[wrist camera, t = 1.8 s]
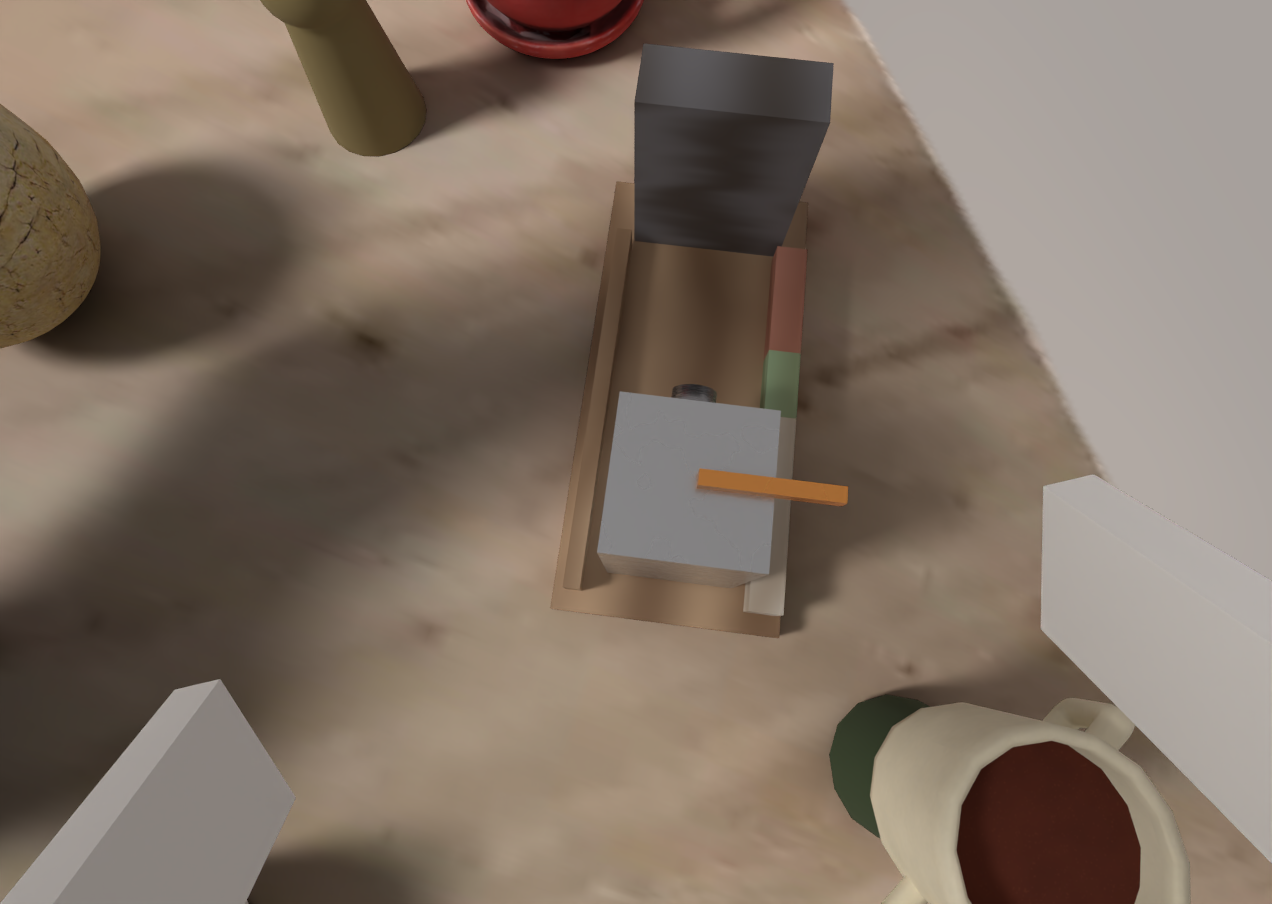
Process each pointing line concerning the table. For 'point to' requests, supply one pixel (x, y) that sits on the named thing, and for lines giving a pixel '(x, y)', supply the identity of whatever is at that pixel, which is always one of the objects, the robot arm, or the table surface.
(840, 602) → the table surface
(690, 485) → the grey cube with stick
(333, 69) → the olive knobbed pawn
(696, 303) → the brown grey l-shaped piece
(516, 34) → the plant pot
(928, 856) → the character mug
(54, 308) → the fossilized egg
